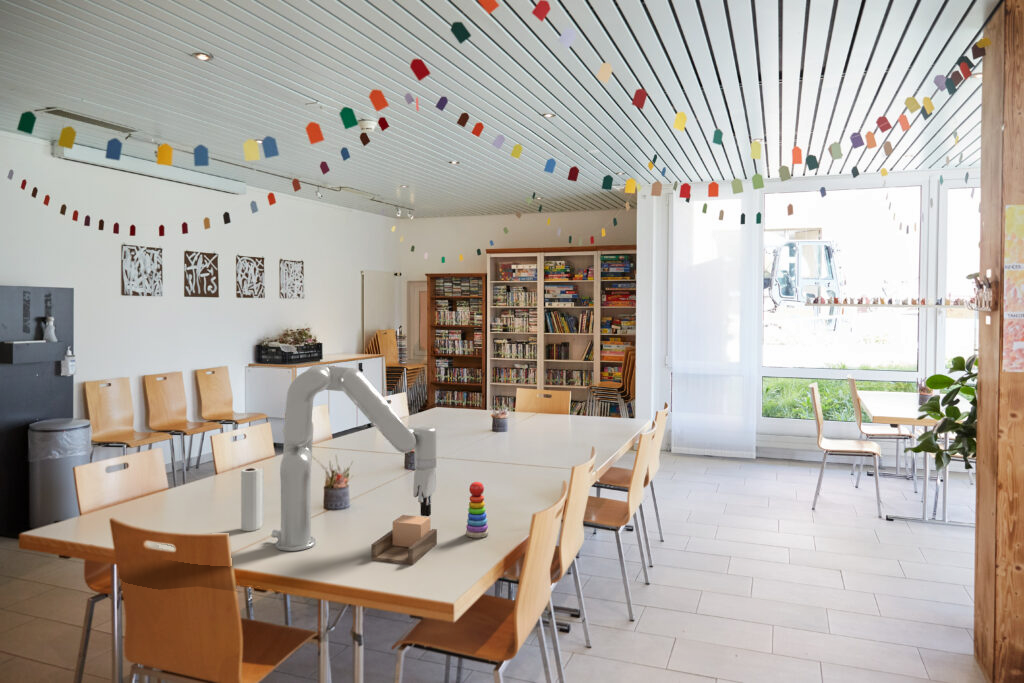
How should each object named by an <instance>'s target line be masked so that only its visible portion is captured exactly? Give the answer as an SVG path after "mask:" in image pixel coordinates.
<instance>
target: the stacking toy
mask: <svg viewBox="0 0 1024 683" xmlns="http://www.w3.org/2000/svg"><path fill="white" fill-rule="evenodd" d="M484 489H485V488H484V485H483V483H481V482H480V481H474V482H472V483H471V484H470V485H469V490H468V491H469V493H470V494H471V495H470V496H469V501H470V502H469V504H468V509H467V511H468V513H467V520H466V522H467V524H466V526H465V527H466V530H465V534H466V536H467V537H469V538H474V539H480V538H485V537H487V536H488V534H489V529H488V527H489V526H488V518H487V513H486V508H485V501H484V500H485V496H484V495H483V493H484V491H485V490H484Z"/></svg>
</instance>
